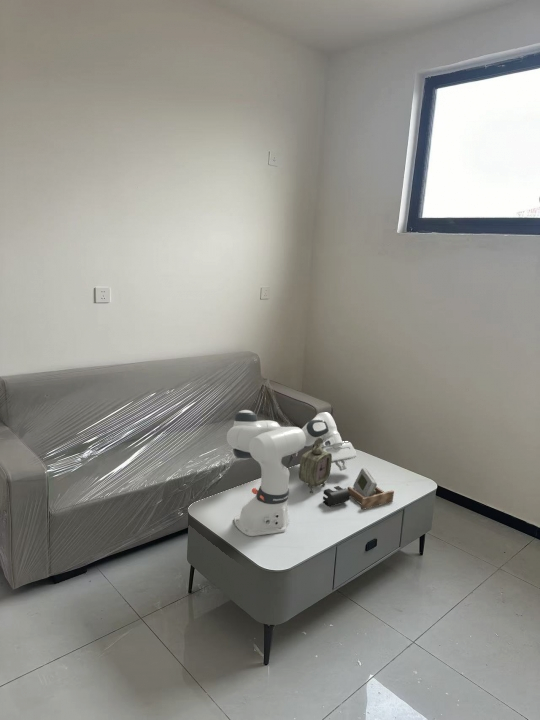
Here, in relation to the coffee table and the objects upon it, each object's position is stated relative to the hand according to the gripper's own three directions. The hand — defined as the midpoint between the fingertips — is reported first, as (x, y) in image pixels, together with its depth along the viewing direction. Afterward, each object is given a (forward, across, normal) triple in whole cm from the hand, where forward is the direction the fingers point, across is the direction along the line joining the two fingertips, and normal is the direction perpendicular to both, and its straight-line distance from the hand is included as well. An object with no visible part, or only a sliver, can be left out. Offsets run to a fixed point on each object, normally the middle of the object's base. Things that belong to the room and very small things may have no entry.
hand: (343, 469), depth 243 cm
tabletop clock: (+5, +18, -3) cm, 19 cm away
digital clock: (+15, +1, +7) cm, 17 cm away
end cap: (+16, +17, +8) cm, 25 cm away
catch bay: (+17, 0, +10) cm, 20 cm away
